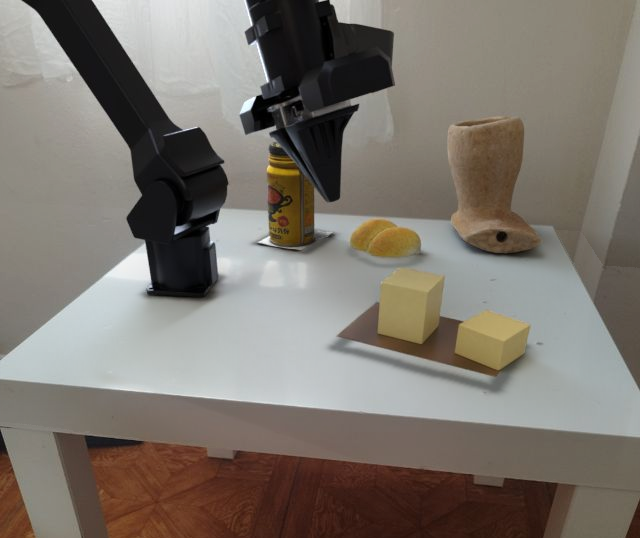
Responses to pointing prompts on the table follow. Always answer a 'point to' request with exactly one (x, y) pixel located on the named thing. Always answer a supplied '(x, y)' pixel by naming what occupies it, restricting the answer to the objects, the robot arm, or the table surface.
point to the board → (432, 348)
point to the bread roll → (385, 239)
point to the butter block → (410, 304)
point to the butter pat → (492, 339)
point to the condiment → (289, 203)
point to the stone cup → (488, 183)
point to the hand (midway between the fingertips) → (333, 201)
